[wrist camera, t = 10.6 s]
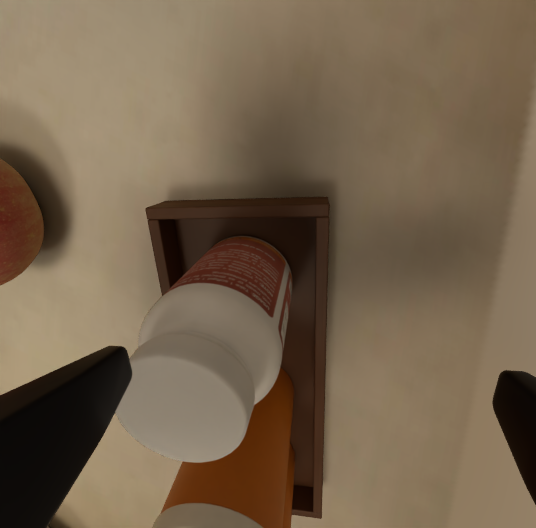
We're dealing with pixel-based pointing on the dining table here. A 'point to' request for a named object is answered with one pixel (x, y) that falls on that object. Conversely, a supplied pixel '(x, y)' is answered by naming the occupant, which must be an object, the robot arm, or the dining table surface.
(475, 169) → the dining table surface
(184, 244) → the walnut tray
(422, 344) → the dining table surface
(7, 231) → the apple
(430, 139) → the dining table surface
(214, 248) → the pill bottle
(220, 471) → the bottle
